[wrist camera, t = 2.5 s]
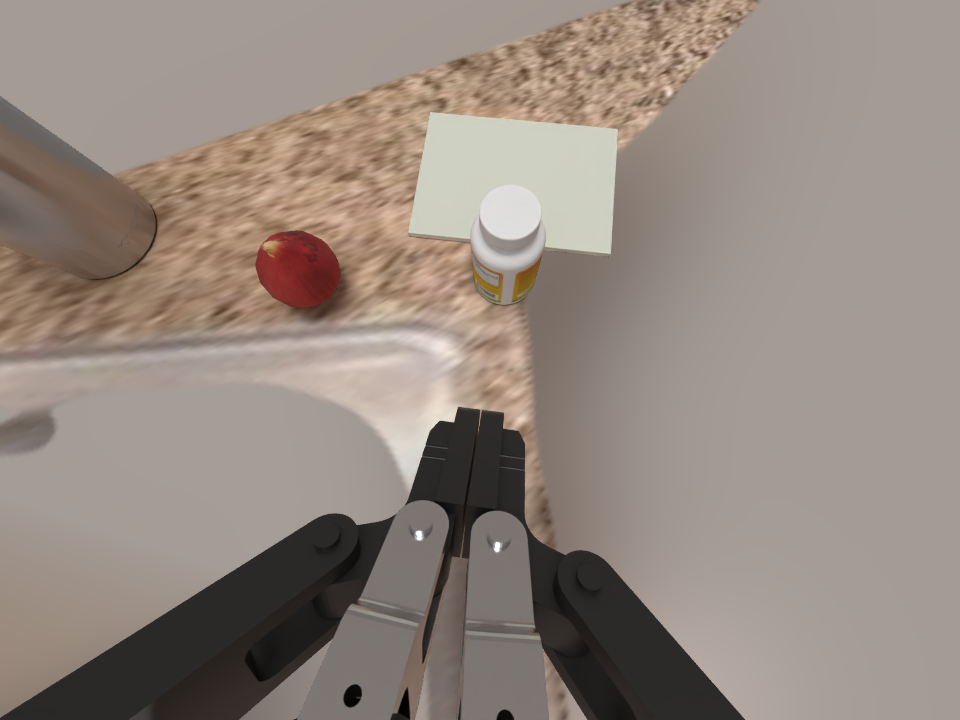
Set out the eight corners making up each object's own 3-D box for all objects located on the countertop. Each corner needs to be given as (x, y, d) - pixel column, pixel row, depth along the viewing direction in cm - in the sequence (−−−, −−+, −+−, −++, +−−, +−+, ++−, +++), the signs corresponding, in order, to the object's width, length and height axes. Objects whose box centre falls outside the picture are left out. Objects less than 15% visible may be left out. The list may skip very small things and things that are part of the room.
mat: (409, 236, 34) (408, 232, 33) (431, 117, 37) (430, 112, 36) (608, 257, 33) (610, 253, 32) (615, 134, 36) (617, 129, 35)
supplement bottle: (532, 248, 33) (550, 172, 24) (536, 305, 32) (556, 248, 23) (472, 250, 33) (466, 175, 24) (474, 307, 32) (468, 251, 23)
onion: (310, 249, 34) (257, 191, 26) (365, 274, 33) (327, 223, 25) (275, 303, 33) (209, 260, 25) (331, 330, 32) (281, 295, 24)
